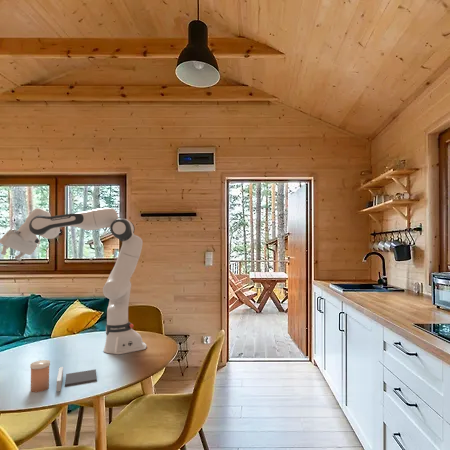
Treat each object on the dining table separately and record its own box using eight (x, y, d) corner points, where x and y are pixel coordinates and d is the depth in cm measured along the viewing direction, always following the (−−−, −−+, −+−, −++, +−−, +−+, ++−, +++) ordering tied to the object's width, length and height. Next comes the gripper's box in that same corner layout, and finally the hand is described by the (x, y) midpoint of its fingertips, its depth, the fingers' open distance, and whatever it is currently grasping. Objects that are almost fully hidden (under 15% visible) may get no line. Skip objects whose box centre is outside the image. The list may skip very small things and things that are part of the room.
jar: (50, 384, 134) (50, 359, 135) (48, 390, 128) (49, 364, 129) (31, 387, 131) (31, 361, 132) (28, 393, 125) (29, 367, 126)
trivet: (95, 371, 147) (95, 369, 147) (96, 381, 136) (96, 379, 136) (66, 375, 142) (66, 373, 142) (64, 386, 131) (64, 384, 132)
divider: (63, 376, 142) (63, 366, 142) (60, 391, 127) (60, 380, 128) (59, 376, 141) (59, 367, 142) (56, 391, 127) (56, 381, 127)
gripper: (15, 230, 166) (-3, 253, 162) (42, 242, 185) (27, 264, 181) (7, 225, 168) (-11, 248, 164) (34, 238, 187) (19, 259, 183)
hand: (9, 256), depth 173 cm, fingers open, 8 cm apart
